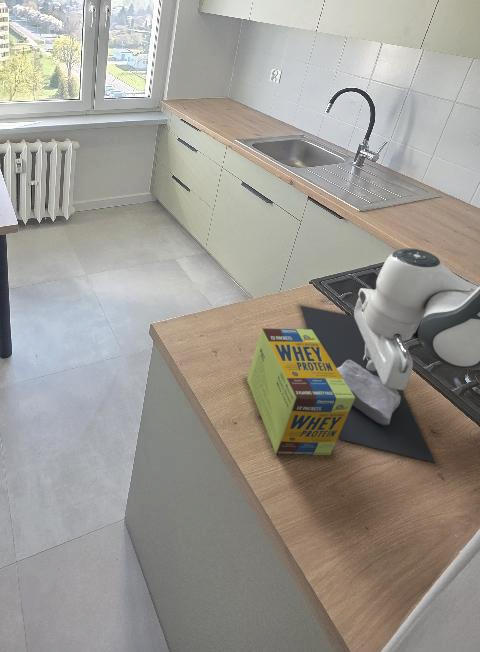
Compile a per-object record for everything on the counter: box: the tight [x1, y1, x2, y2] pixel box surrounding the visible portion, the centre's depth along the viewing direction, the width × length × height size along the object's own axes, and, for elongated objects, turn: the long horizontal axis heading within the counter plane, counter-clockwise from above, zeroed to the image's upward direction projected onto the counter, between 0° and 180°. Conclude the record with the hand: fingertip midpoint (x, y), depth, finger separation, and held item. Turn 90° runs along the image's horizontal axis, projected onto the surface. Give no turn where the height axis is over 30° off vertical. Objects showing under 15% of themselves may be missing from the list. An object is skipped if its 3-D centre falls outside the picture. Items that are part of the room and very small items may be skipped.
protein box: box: [246, 327, 355, 456], centre depth 79 cm, size 10×15×16 cm
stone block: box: [337, 360, 401, 426], centre depth 87 cm, size 12×5×10 cm
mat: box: [300, 305, 436, 464], centre depth 93 cm, size 16×36×1 cm, turn 166°
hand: (368, 365), depth 92 cm, fingers closed
